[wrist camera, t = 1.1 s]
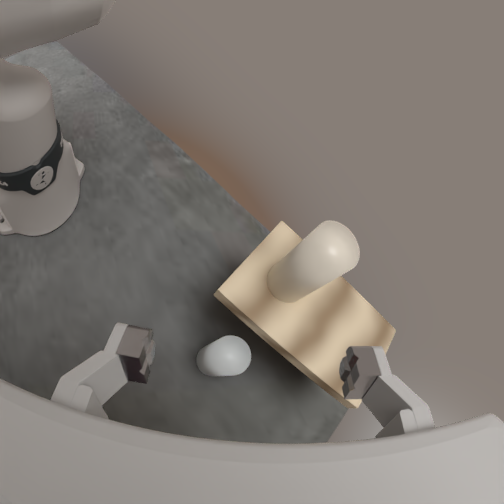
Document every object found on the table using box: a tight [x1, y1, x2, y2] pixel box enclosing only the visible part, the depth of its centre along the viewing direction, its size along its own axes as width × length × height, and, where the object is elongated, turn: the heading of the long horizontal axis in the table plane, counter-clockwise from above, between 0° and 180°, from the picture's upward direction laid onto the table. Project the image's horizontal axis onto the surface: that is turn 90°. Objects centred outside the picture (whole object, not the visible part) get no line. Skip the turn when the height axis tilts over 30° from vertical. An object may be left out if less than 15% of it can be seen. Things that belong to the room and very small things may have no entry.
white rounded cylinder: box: [267, 221, 360, 303], centre depth 29 cm, size 5×5×10 cm
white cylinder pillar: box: [196, 335, 251, 376], centre depth 37 cm, size 5×5×10 cm
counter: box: [214, 221, 396, 408], centre depth 39 cm, size 21×12×14 cm, turn 51°
